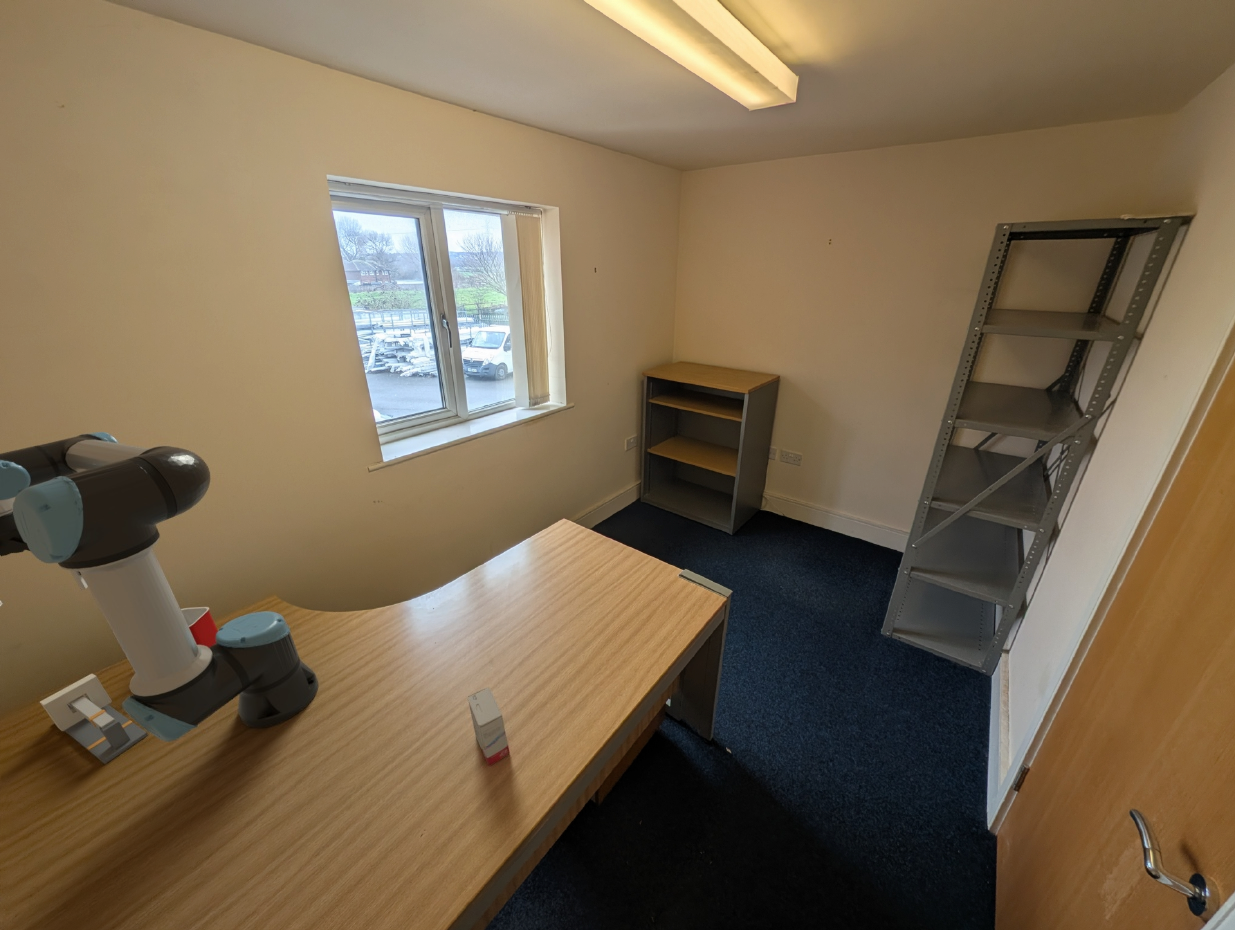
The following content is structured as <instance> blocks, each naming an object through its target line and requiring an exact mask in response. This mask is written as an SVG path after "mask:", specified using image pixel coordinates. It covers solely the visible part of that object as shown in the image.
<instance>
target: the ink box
mask: <svg viewBox="0 0 1235 930" xmlns="http://www.w3.org/2000/svg"><path fill="white" fill-rule="evenodd" d="M467 700H468V705H469V711H470V714H471V721H472V724H473V731H474V733H475V737H476V740H477V742H478V744H479V746H480V749H481V751H482V754H483V756H484V759H485V760H486V764H487V766H489V767H490V766H493V764H495V763H498V762H499V761H501V760H502V759H504V758H505V757H507V756H508V755H510V747H509V742H508V738H507V734H506V728H505V724H504V717H503V714H502V712H501V709H500V707H499V705H498V702H497V701H496V698H495V696H494V694H493V692H492V690H491V688H490V687H489V686H488V687H486V688H483V689H481V690H479V691H476V692H475V693H473V694H471V695H469V696H468V697H467Z"/></svg>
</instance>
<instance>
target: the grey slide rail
mask: <svg viewBox="0 0 1235 930" xmlns="http://www.w3.org/2000/svg"><path fill="white" fill-rule="evenodd" d="M67 705H68V707H69V708H70V710H71V709H74V710H76V711H77V712H78V713H80V714H81V715H82V716H84V717H85V718H84V719H82V720H81V721H79V722H77V723H76V724H74V725H72V726H71V727H69V728H67V729H66V730H64V731H63V732H65V734H66V733H67V734H68V735H69V736H70V737H71V738H72V739H73V740H75V741H76V742H77V743H78V744H80V746H82V747H83V748H85V749H86V750H87V752H89V753H90V754H92V755H93V756H94V757H96V759H98V760H99V761H100V762H101V763H103V764H104V765H106V764H107V763H109V762H110V761H112V760H114V759H115V758H116V757H118V756H119V755H121V754H122V753H124V752H126V751H127V750H128V749H129V748H131V747H132V746H135V744H137V743H138V742H140V741H142V739H144V738H146V737H147V736H149V734H148V731H147V730H144V728H142V727H141V726H139V725H137V723H134V722H133V721H132V720H130V719H129V718H128V717H126V716H124V714H122V713H121V712H119V711H117V710H116V709H115V708H114V707H112V706H111V705H110V704H108V705H106V706H104V707H102V708H101V709H100V708H99V707H98V706H96V705H95V704H93V703H92V702H91V701H89V700H88V699H87V697H86V696H85V695H82V696H80V697H78V698H76V699H75V700H73V701H71V702H69V703H68V704H67Z"/></svg>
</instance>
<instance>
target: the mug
mask: <svg viewBox="0 0 1235 930" xmlns="http://www.w3.org/2000/svg"><path fill="white" fill-rule="evenodd" d="M180 609H181V612H182V614H183V616H184V618H185V620H186V622H187V625H188V627H189V629H190V631H191V633H192V636H193V638H194V640H195V642H196V644H197V645H204V646H207V647H208V648H209V647H211V646H212V645H214V644H215V643H217V642H216V641H215V639H216V633H217V632H218V631H219V629H218V627H217V625H216V623H215V622H214V619H213V617H212V615H211V613H210V607H209V606H200V607H199V606H197V607H185V608H180Z"/></svg>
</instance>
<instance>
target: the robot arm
mask: <svg viewBox="0 0 1235 930" xmlns="http://www.w3.org/2000/svg"><path fill="white" fill-rule="evenodd" d="M210 483H211V471H210V468H209V466H208V464H207V463H206V462H205V460H204V459H203V458H202V457H201V456H199V455H198V454H197V453H195V452H193V451H191V450H188V449H184V448H182V447H181V448H180V447H176V446H170V445H161V446H160V445H159V446H155V447H154V446H153V447H151V448H148V447H144V446H143V447H142V446H136V445H131V444H126V443H125V444H124V443H119V441H118V440H117V439H116V438H115V437H114V436H112V435H111V434H110V433H109V432H105V431H96V432H92V433H82V434H79V435H77V436H74V437H68V438H64V439H61V440H55V441H53V442H46V443H43V444H39V445H34V446H29V447H24V448H21V449H15V450H11V451H5V452H1V453H0V557H4V556H8V555H11V554H19V553H23V552H25V551H28V552H30V553H31V554H32V555H33V556H34V557H36V558H37V559H38V560H39V561H41V562H42V563H44V564H58V566H59V567H60V568H61V569H62V570H66V571H69V572H70V573H71V575H72V576H73V578H74V580H75V582H76V583H77V585H78V587H79V588H80V590H81V591H83V590H87V588H88V590H89V591H90V593H91V595H92V597H93V598H94V600H95V602H96V604H97V606H98V608H99V610H100V611H101V613H102V615H103V617H104V618H105V620H106V622H107V623H108V625H109V628H110V630H111V631H112V633H113V634H114V636H115V639H116V640H117V642H118V644H119V645H120V647H121V649H122V652H123V653H124V655H125V656H126V658H127V660H128V662H129V664H130V666H131V668H132V669H133V671H134V674H133V676H132V677H131V679H130V682H129V685H128V686H129V690H130V692H131V694H132V695H129V696H127V697H126V699H125V700H123V702H122V703H121V707H122V709H123V711H124V712H126V713H127V714H128V715H129V717H130V718H132V719H133V720H134V722H136V724H138V725H140V727H141V728H142V729H145V731H146V732H148V733H150V734H151V735H153V736H154V737H156V738H157V739H159V740H161V741H163V742H174V741H177V740H178V739H180V738H181V737H183V736H184V735H186V734H187V733H189V732H190V731H192V730H193V729H196V728H198V727H199V725H200V724H202V723H203V722H204V721H205V720H207V719H208V718H210V717H211V716H212V715H213V714H215V713H216V712H218V711H219V710H220V709H221V708H223V707H224V706H226V704H228V703H230V702H231V701H232V700H233V699H235V698H236V697H238V707H237V708H238V709H237V712H238V715H239V717H240V719H241V722H242V723H243V724H244V725H245V726H246V727H249V728H253V729H262V728H263V729H264V728H269V727H270V728H271V727H272V726H275V725H276V726H277V725H279V724H281V723H284V722H285V721H287V720H289V719H291V718H292V717H294V716H296V715H298V714H299V713H300V712H301V711H303V710H304V709H305V708H306V707H307V706H308V705H309V704H310V703H311V701H312V700H313V699H314V698H315V696H316V694H317V692H318V689H319V680H318V678H317V675H316V673H315V671H314V670H313V669H311V668H310V667H309V666H308V665H307V664H306V663H305V662H304V661H302V660H301V659H300V658H301V657H300V655H299V653H298V650H297V648H296V645H295V642H294V640H293V637H292V633H291V628H290V627H289V626H288V624H287V621H286V620H285V618H284V616H282V614H280V613H277V612H275V611H268V610H267V611H263V610H262V611H257V612H251V613H247V614H244V615H241V616H238V617H236V618H233V619H232V620H230V621H228V622H226V623H225V624H223V625H222V626H221V627H220V628H219V629H218V632H217V633H216V639H215V641H216V642H217V643H215V644H214V645H212V646H211V647H209V648H208V647H207V646H204V645H197V644H196V642H195V640H194V638H193V636H192V633H191V631H190V629H189V627H188V625H187V622H186V620H185V618H184V616H183V614H182V612H181V609H182V608H180V605H179V603H178V601H177V599H176V597H175V594H174V592H173V590H172V588H171V585H170V583H169V581H168V579H167V577H166V575H165V573H164V571H163V567H162V566H161V564H160V562H159V559H158V558H157V555H156V553H155V551H154V549H153V548H154V547H155V546H156V545H157V543H158V542H160V539H161V534H160V532H159V530H158V528H157V525H158V524H160V523H163V522H164V521H167V520H169V519H172V518H174V517H177V516H179V515H182V514H184V513H186V512H187V511H189V510H190V509H192V508H194V507H195V506H196V505H197V504H198V503H200V502H201V501H202V499H203V498H204V496H205V495H207V492H208V490H209V488H210ZM2 605H4V603H3V602H2V601H1V599H0V607H2Z"/></svg>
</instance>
